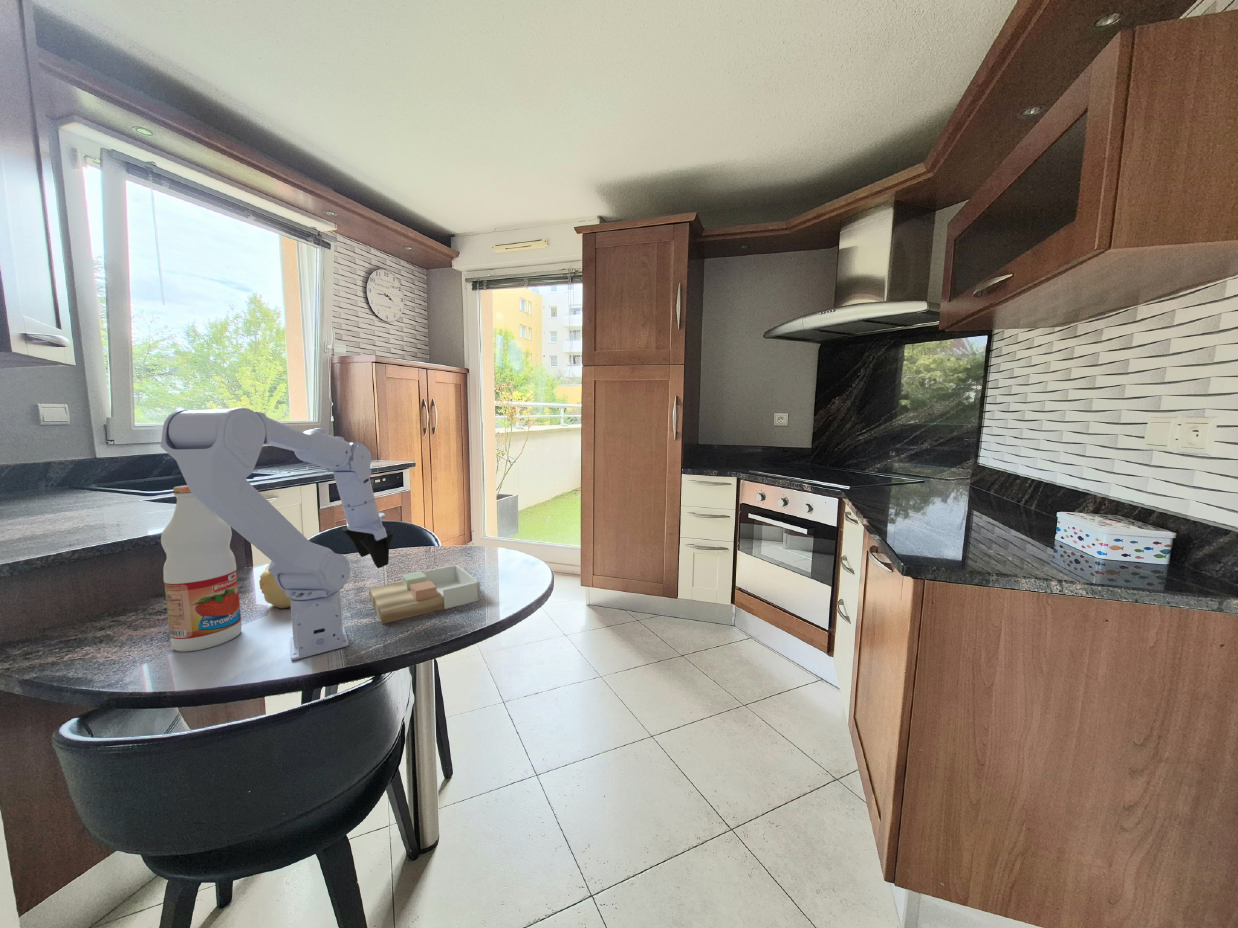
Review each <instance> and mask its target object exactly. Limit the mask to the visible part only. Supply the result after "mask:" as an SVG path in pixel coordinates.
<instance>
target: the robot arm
mask: <svg viewBox="0 0 1238 928" xmlns="http://www.w3.org/2000/svg"><path fill="white" fill-rule="evenodd" d="M161 431H162V433H161V439H160V447H161V448H162V449H163V451H165V452H166V453H167V454H168V455H169V456H170V457H172V458H173V459H174V460H175V461H176V463H177V466H178V468H179V471H180V472H181V474H182V476H183V479H184V481H185V483H186V485H188V488H189V490H190V491H191V493H192V494H193V495H194V496H195V497H196V498H197V499H198V500H200V501H201V502H202V503H203V504H204V505H206V506H207V507H208V508H209V509H210V510H212V511H213V512H214V513H215V514H216V515H218V516H219V517H220V518H221V519H222V520H224V521H225V522H226V523H227V524H228V525H230V527H231V529H233V530H234V531H235V532H237V533H238V534H239V535H241V537H243V539H245V540H246V541H247V542H248V543H250V544H251V545H252V546H253V547H255V548H256V549H257V550H258V551H260V552H261V553H262V554H263V555H264V556H265V557H267V558H268V559H269V560H270V562H269V564H270V565H269V564H268V565H269V568H268V571H269V572H270V573H271V574H272V575H273V576H274V578H275V580H276V583H277V585H278V587H279V588H280V589H282V590H285V594H286V597H290V606H291V607H290V616H291V627H292V636H291V638H290V660H291V661H296V660H300V659H303V658H307V657H311V656H315V655H318V654H322V653H327V652H329V651H330V652H331V651H334V650H337V649H341V648H345V647H346V648H347V646H349V644H350V643H349V639H348V637H347V633H346V629H345V626H344V625H343V615H342V613H343V612H342V604H341V603H342V601H341V590H343V589H344V586H345V585H347V584H346V583H347V582H348V580H349V578H350V573H351V566H350V562H349V559H348V558H347V557H346V556H345V555H343V554H341V553H336V552H334V551H333V550H332V549H331V548H329V547H326V546H323V545H320V544H316V543H314V542H311V541H309V539H308V538H307V537H305V535H304V534H303V533H301V531H299V529H297V528H296V526H294V524H292V523H291V522H290V521H289V520H288V519H287V518H286V516H284V515H283V514H282V513H281V512H280V511H279V510H278V509H277V508H276V507H275V506H274V505H272V503H271V502H269V500H268V499H267V498H265V496H264V495H262V494H261V492H260V491H258V489H256V488H255V487H254V486H253V485H252V484H251V482H249V481H248V480H247V478H248V477H249V476H250V475H252V474H253V472H254V469H255V467H256V464H257V462H258V459H259V456H260V455H261V451H262V449H263V447H264V445H268V446H270V447H275V448H279V449H283V450H284V449H285V450H288V451H293V452H294V455H295V457H296V458H298V459H299V460H300V461H302V462H305V463H309V464H312V465H316V466H319V467H323V469H324V470H325V471H326V472H327V473H333V477H334V481H335V483H336V487H337V491H338V494H339V498H340V502H341V505H342V509H343V513H344V515H343V516H344V519H345V522H346V525H345V526H343V527H342V528H341V531H342V532H343V533H344V534H345V535H346V536H347V537H348V539H350V541H351V542H352V544H353V546H354V548H355V549H356V551H357V552H358V554H359V556H360V557H361V558H363V557H366V556H368V555H370V556H371V559H372V561H373V563H374V565H375V567H376V568H377V569H380V568H383V567H385V566H387V565H389V561H390V560H389V558H390V546H391V543H392V542H391V541H392V539H393V538H394V534H393V532H392V531H391V530H386V527H384V526H383V519H385V518H386V517H387V515H386V513H383V512H379V509H378V505H377V502H376V498H375V494H374V489H373V487H372V483H371V482H372V481H371V479H370V477H372V471H371V470H372V469H371V464H372V452H371V451H370V450H369V449H368V448H367V447H366V445H364V444H363V443H362V442H357V441H356V442H348V441H346V440H345V437H342V436H333V435H331V434H328V433H327V430H326V429H323V428H321V427H320V428H319V427H316V428H313V429H308V430H305V431H301V430H299V429H296V428H294V427H291V426H289V425H287V424H284V423H282V422H280V421H278V420H275V419H272V418H270V417H268V416H267V414H266V413H265V412H261V411H254V410H253V409H251V408H248V407H234V408H228V409H227V408H224V409H222V408H221V409H198V410H197V409H185V408H184V409H178V410H175V411H174V412H172V413H170V414H169V415H168V416H167V417H166V419H165V421H164V422H163V426H162V430H161Z"/></svg>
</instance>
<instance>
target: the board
mask: <svg viewBox="0 0 1238 928" xmlns="http://www.w3.org/2000/svg"><path fill="white" fill-rule="evenodd" d="M427 581H428V580H427ZM368 592H369V601H370V603H371V605H372V608H373V609H374V611H375V613H376V615H377V617H378V620H379V621H380V624H381V625H385V624H388V623H392V622H396V621H400V620H405V619H408V618H409V619H410V618H413V617H418V616H421V615H424V614H430V613H432V612H437V611H440V610H445V609H444V597H443V596H442V595H441V594H440V592H439V591H438V590H437V596H436V597H432V598H427V599H423V600H419V601H416V600H415V599H414V598H413V596H412V595H411V590H410V589H407V588H406V587H405V586H404V585H403V582H402V581H399V582H394V583H390V584H385V585H380V586H374V587H371V588H368Z"/></svg>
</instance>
